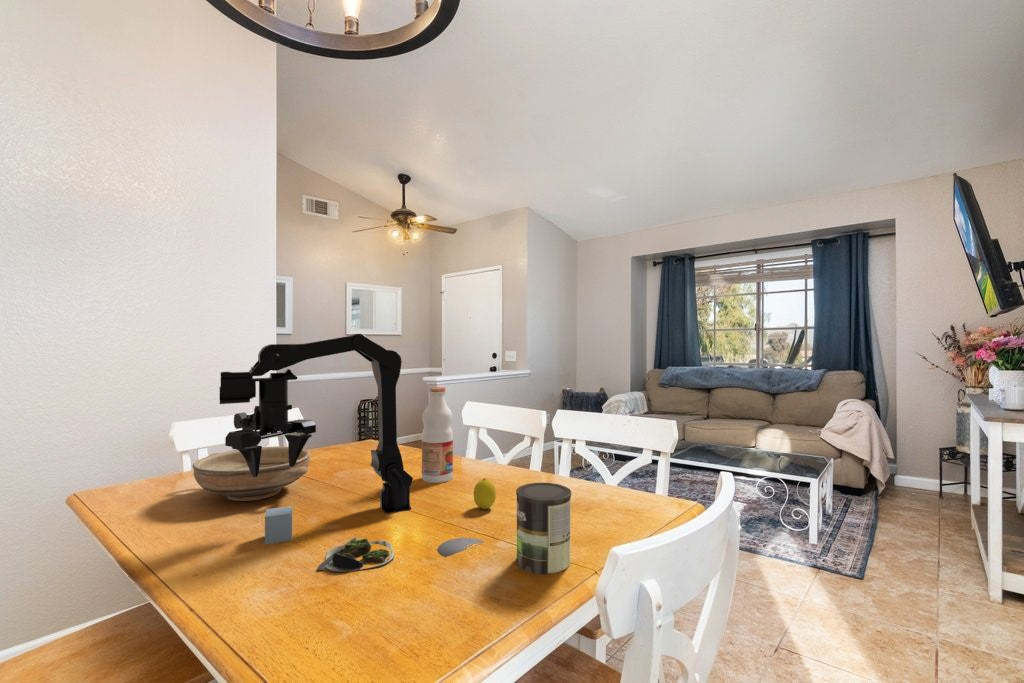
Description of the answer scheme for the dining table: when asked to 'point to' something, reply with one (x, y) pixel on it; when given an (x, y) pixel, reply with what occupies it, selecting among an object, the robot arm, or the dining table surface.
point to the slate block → (278, 525)
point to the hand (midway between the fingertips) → (274, 471)
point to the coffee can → (543, 527)
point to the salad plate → (345, 556)
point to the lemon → (484, 494)
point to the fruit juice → (437, 439)
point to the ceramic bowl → (249, 473)
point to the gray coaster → (456, 546)
